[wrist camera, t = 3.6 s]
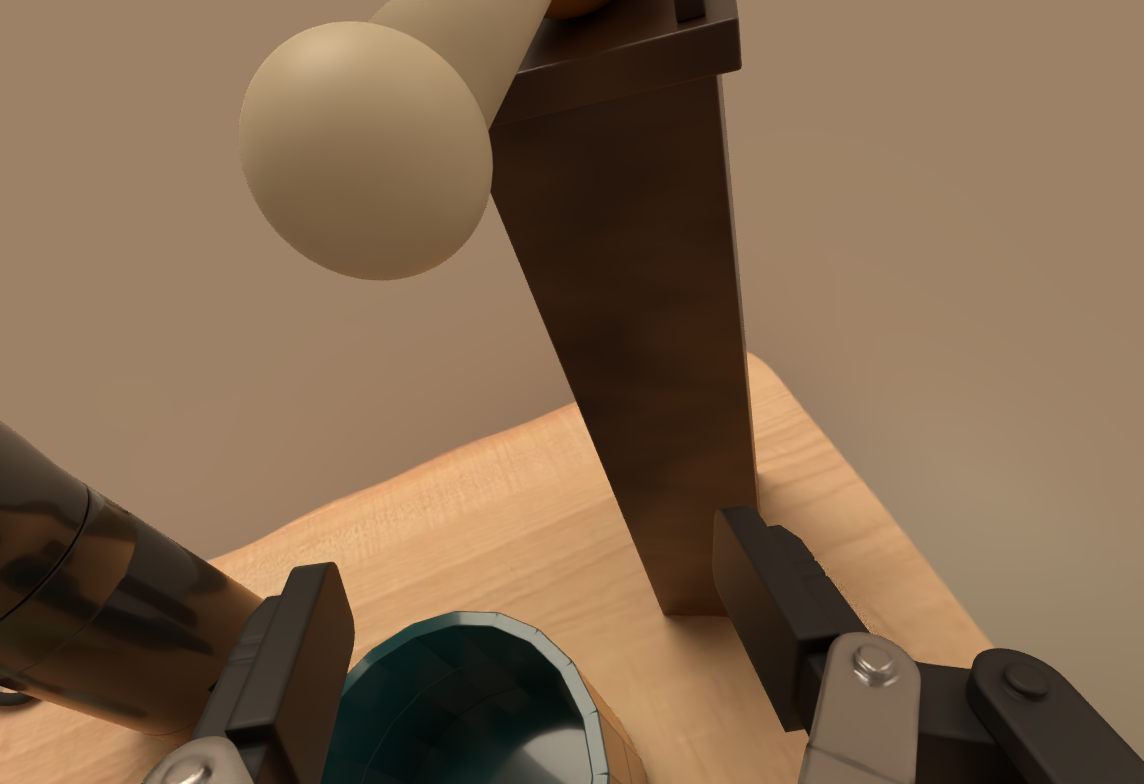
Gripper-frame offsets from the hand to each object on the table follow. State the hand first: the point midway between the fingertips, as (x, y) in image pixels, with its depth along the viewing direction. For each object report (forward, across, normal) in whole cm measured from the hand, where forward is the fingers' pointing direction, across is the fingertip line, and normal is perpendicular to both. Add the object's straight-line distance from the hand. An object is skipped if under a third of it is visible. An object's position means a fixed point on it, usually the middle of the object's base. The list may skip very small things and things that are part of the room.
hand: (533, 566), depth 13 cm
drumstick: (+4, -2, -10) cm, 11 cm away
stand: (+19, -11, +17) cm, 28 cm away
